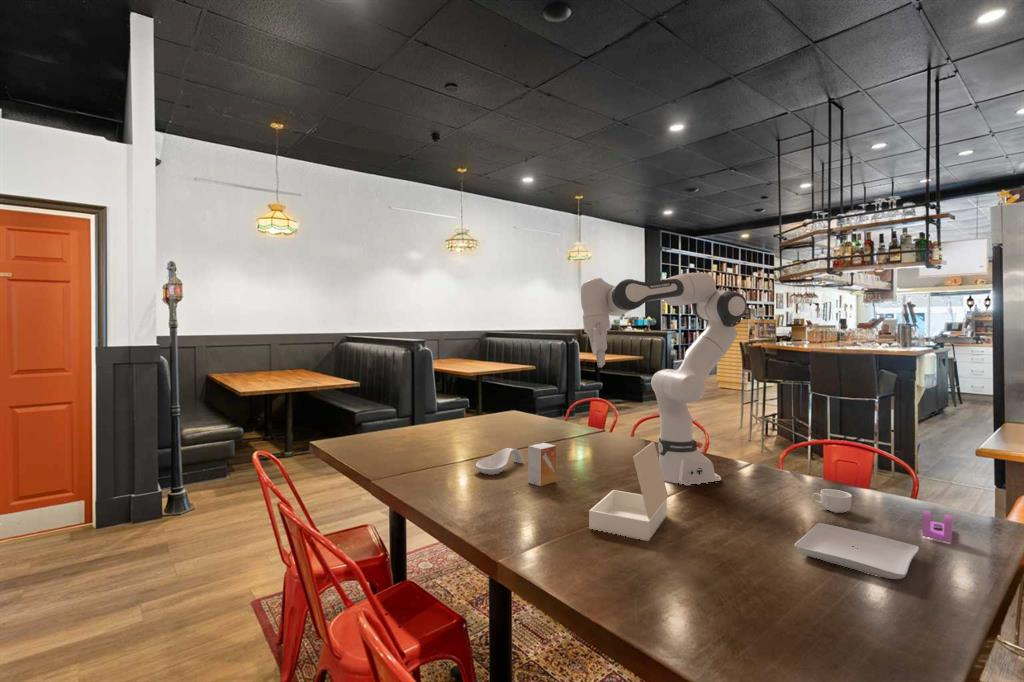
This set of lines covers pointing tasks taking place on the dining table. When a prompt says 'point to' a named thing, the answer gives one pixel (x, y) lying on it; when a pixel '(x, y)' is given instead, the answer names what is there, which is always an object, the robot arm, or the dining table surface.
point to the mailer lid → (650, 479)
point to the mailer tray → (625, 516)
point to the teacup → (834, 500)
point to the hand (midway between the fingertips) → (601, 366)
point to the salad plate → (858, 550)
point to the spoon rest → (498, 461)
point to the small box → (541, 464)
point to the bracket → (929, 525)
